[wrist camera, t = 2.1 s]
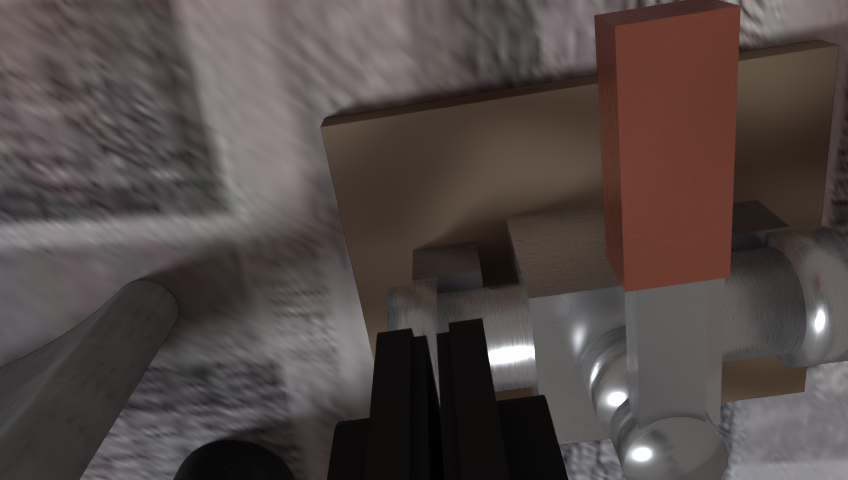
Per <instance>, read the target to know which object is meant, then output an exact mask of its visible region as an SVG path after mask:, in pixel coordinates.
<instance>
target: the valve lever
mask: <svg viewBox="0 0 848 480" xmlns="http://www.w3.org/2000/svg"><path fill="white" fill-rule="evenodd" d="M740 7H741V6H739V5H735V4H732V3H728V2H724V1H720V0H684V1H678V2H672V3H666V4H660V5H654V6H648V7H641V8H635V9H629V10H623V11H617V12H611V13H605V14H599V15H594V18H595V38H596V58H597V79H598V99H599V119H600V140H601V160H602V181H603V201H604V221H605V242H606V259H607V261H608V263H609V264H610V266H611V268H612V270H613V272H614V273H615V275H616V277H617V279H618V281H619V282H620V284H621V286H622V288H623V290H624V292H625V316H626V343H627V370H628V397H629V398H627V399H626V400H625V401H624V402H623V403H622V404H621V405H620V406H619V407H618V408H617V409H616V411H615V412H614V414H613V416H612V419H611V422H610V430H609V431H610V437H611V440H612V443H613V446H614V448H615V451H616V454H617V456H618V459H619V462H620V464H621V467H622V470H623V473H624V475H625V478H626V480H719V479H720V478H721V476H722V474H723V473H724V471H725V469H726V466H727V462H728V451H727V447H726V445H725V443H724V441H723V439H722V438H721V436H720V434H719V432H718V431H717V429H716V427H715V426H714V424H713V422H712V420H711V419H710V417H709V415H708V414H707V412H706V380H707V338H708V296H709V280H715V279H723V278H730V264H731V238H732V213H733V187H734V161H735V136H736V110H737V84H738V59H739V33H740Z"/></svg>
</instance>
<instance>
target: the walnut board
mask: <svg viewBox="0 0 848 480" xmlns="http://www.w3.org/2000/svg"><path fill="white" fill-rule="evenodd" d="M838 51H839V45H836V44H833V43H830V42H826V41H823V40H814V41H808V42H801V43H795V44H789V45H783V46H776V47H770V48H764V49H757V50H751V51H745V52H739V59H738V84H737V110H736V136H735V161H734V187H733V203H740V202H747V201H754V200H758V201H759V202H761V203H762V204H763V205H764V206H765V207H767V208H768V209H769V210H770V211H771V212H773V213H774V214H775V215H776V216H778V217H779V218H780V219H781V220H782V221H784V222H785V223H786V224H787V225H788V226H790V229H797V228H804V227H811V226H821V220H822V210H823V201H824V191H825V181H826V171H827V161H828V151H829V141H830V131H831V121H832V111H833V101H834V91H835V81H836V71H837V61H838ZM320 129H321V133H322V138H323V142H324V146H325V151H326V155H327V159H328V164H329V168H330V172H331V177H332V181H333V185H334V190H335V194H336V198H337V203H338V207H339V212H340V216H341V220H342V225H343V229H344V233H345V238H346V242H347V246H348V251H349V255H350V259H351V264H352V268H353V272H354V277H355V281H356V285H357V290H358V294H359V298H360V303H361V307H362V311H363V316H364V320H365V324H366V329H367V333H368V337H369V342H370V346H371V350H372V355H373V359H374V362H375V350H376V338H377V333H379V332H386V331H387V318H386V295H387V289H388V287H389V286H396V285H403V284H410V283H412V260H413V250H417V249H423V248H430V247H437V246H444V245H451V244H458V243H465V242H472V241H476V245H477V251H478V257H479V263H480V268H481V275H482V282H483V287H489V286H496V285H503V284H510V283H513V279H512V270H511V262H510V253H509V245H508V236H507V228H506V219H505V217H508V216H515V215H522V214H528V213H535V212H542V211H549V210H556V209H562V208H569V207H576V206H583V205H590V204H596V203H603V202H604V201H603V181H602V160H601V140H600V119H599V99H598V79H597V75H594V76H588V77H581V78H575V79H569V80H562V81H556V82H550V83H543V84H537V85H531V86H525V87H518V88H512V89H506V90H499V91H493V92H487V93H481V94H474V95H468V96H462V97H455V98H449V99H443V100H437V101H430V102H424V103H418V104H411V105H405V106H399V107H392V108H386V109H380V110H374V111H367V112H361V113H355V114H348V115H342V116H336V117H330V118H324V120H323V122H322V125H321V127H320ZM806 370H807V366H804V367H796V368H795V367H790V366H787V365H785V364H784V363H782V362H781V361H780V360H779V359H778V358H777V357H776V356H775V355H771V356H763V357H755V358H748V359H740V360H733V361H725V362H722V378H721V402H729V401H737V400H744V399H752V398H760V397H768V396H776V395H784V394H791V393H799V392H804V390H805V380H806ZM495 396H496V401H499V400H507V399H514V398H522V397H529V396H533V395H532V391H531V387H527V388H519V389H512V390H504V391H496V392H495Z"/></svg>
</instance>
